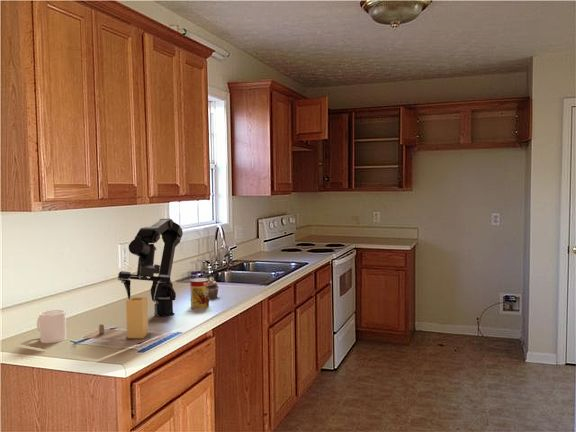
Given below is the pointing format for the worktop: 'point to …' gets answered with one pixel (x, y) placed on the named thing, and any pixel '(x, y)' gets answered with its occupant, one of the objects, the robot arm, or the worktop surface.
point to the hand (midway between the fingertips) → (141, 300)
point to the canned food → (199, 293)
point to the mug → (52, 326)
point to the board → (115, 335)
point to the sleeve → (137, 317)
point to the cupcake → (212, 287)
